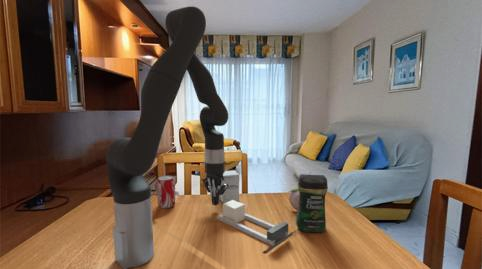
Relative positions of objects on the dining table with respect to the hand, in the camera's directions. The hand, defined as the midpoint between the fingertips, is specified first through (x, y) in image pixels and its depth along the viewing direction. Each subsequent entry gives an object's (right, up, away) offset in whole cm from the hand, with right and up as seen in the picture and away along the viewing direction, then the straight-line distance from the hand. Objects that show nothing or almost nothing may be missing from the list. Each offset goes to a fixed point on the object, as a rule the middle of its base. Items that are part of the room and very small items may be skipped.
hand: (215, 204), depth 97 cm
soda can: (-21, -3, +8) cm, 22 cm away
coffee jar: (+33, -5, -11) cm, 36 cm away
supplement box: (+5, -2, +13) cm, 13 cm away
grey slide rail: (+13, -5, -12) cm, 18 cm away
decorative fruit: (+33, -4, +2) cm, 33 cm away
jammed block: (+7, -3, -7) cm, 10 cm away
